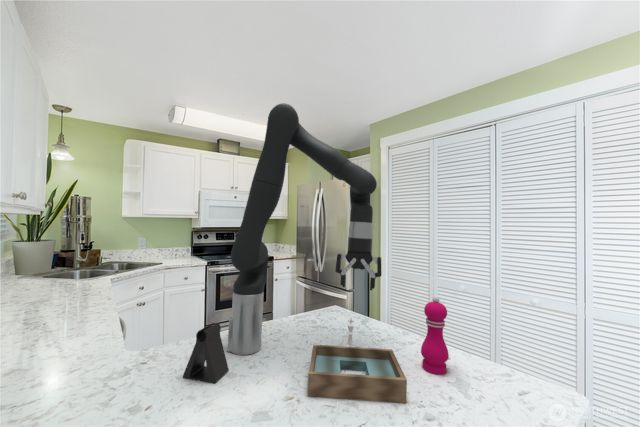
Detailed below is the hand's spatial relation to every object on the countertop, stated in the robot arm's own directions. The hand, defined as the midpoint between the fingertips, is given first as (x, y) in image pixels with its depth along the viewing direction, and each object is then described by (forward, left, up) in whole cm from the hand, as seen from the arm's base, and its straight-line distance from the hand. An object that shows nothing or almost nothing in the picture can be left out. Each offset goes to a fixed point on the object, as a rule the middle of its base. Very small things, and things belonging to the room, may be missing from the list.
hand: (357, 288), depth 90 cm
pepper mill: (+21, -8, -20) cm, 30 cm away
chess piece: (-2, 0, -20) cm, 20 cm away
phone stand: (-39, -19, -20) cm, 47 cm away
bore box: (-2, -17, -19) cm, 26 cm away
